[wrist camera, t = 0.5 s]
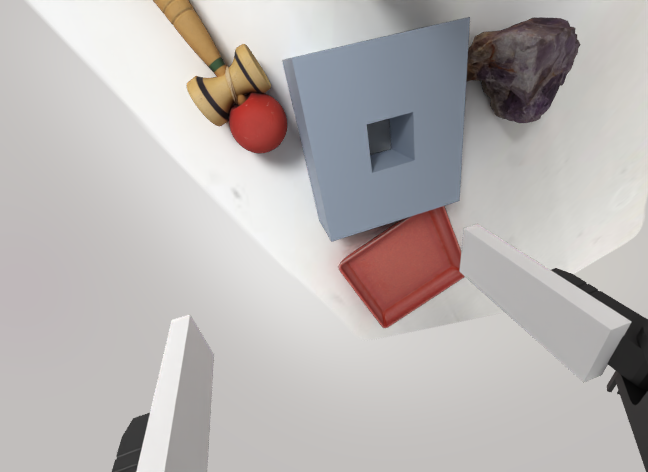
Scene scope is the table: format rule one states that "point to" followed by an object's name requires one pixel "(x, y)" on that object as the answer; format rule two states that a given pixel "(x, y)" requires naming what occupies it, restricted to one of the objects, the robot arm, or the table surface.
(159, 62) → the table surface
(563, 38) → the rock
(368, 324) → the table surface
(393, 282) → the plant saucer
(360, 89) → the board
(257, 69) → the kendama
